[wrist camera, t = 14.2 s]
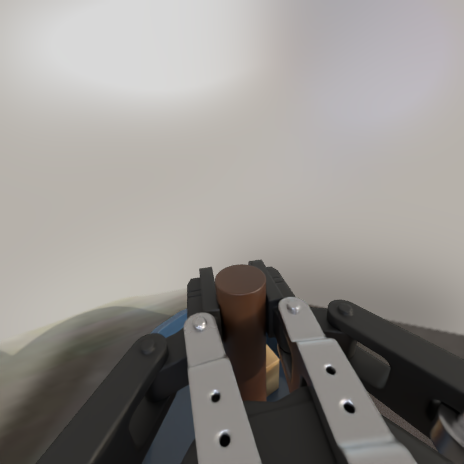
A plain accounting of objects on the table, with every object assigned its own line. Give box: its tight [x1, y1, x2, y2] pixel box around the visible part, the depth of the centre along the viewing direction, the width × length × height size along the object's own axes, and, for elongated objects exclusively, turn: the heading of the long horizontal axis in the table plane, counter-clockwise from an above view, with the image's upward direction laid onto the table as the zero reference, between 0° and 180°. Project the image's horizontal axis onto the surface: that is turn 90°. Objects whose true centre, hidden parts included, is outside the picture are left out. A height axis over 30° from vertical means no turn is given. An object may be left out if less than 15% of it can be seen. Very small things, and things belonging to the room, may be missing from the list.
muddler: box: [215, 265, 266, 401], centre depth 13 cm, size 4×4×15 cm
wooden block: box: [266, 344, 279, 397], centre depth 21 cm, size 4×4×4 cm
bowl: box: [142, 309, 290, 464], centre depth 19 cm, size 17×17×6 cm
